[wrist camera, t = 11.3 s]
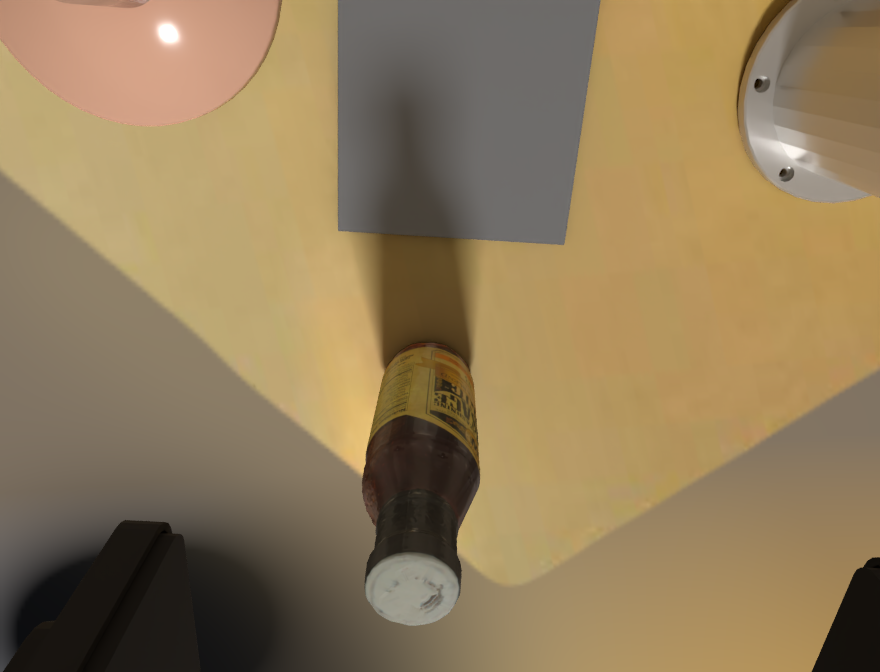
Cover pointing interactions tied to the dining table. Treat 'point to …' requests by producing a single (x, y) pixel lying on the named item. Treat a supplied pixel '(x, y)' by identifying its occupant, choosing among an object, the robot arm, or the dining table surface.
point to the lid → (141, 53)
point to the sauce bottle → (420, 482)
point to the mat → (461, 116)
